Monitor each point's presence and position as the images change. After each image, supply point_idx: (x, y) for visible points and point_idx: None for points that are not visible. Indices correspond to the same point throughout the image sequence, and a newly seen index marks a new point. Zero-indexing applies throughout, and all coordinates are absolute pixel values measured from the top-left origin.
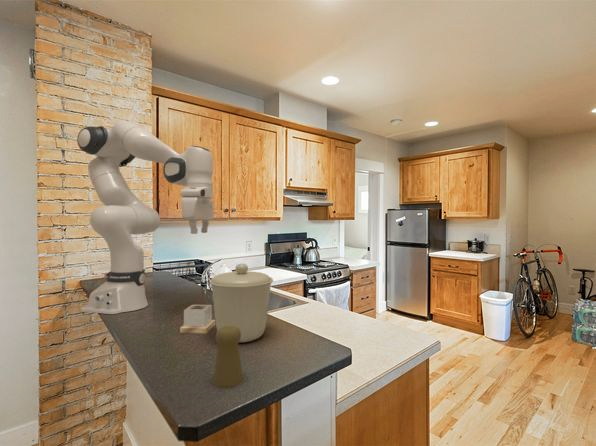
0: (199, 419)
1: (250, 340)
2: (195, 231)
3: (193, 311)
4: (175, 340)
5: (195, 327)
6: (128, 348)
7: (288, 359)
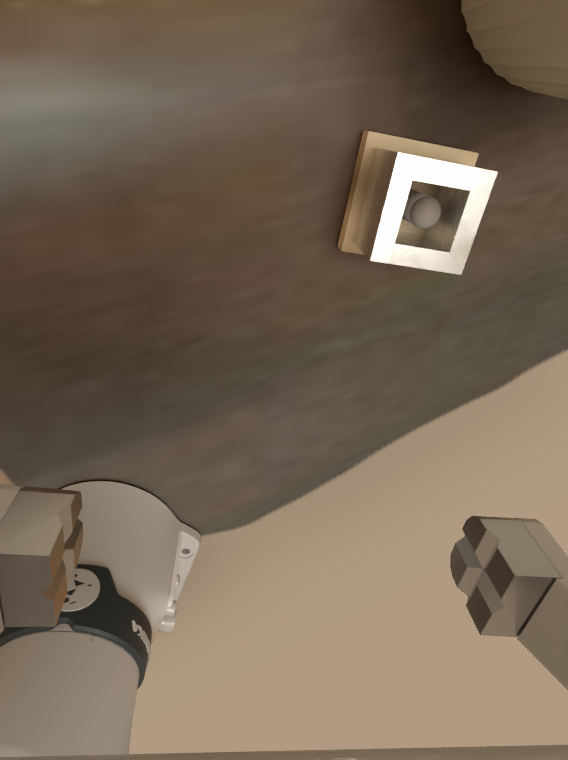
0: None
1: None
2: (550, 543)
3: (474, 228)
4: (505, 256)
5: None
6: (524, 370)
7: None
